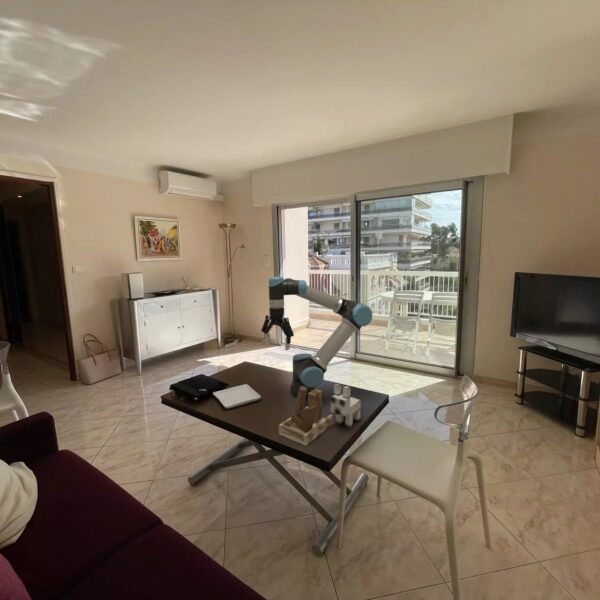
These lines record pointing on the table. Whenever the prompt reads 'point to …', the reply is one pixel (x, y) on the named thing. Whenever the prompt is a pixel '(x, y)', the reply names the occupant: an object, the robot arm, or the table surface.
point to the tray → (298, 435)
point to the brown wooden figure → (303, 412)
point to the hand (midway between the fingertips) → (277, 347)
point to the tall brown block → (316, 403)
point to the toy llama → (345, 405)
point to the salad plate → (237, 396)
